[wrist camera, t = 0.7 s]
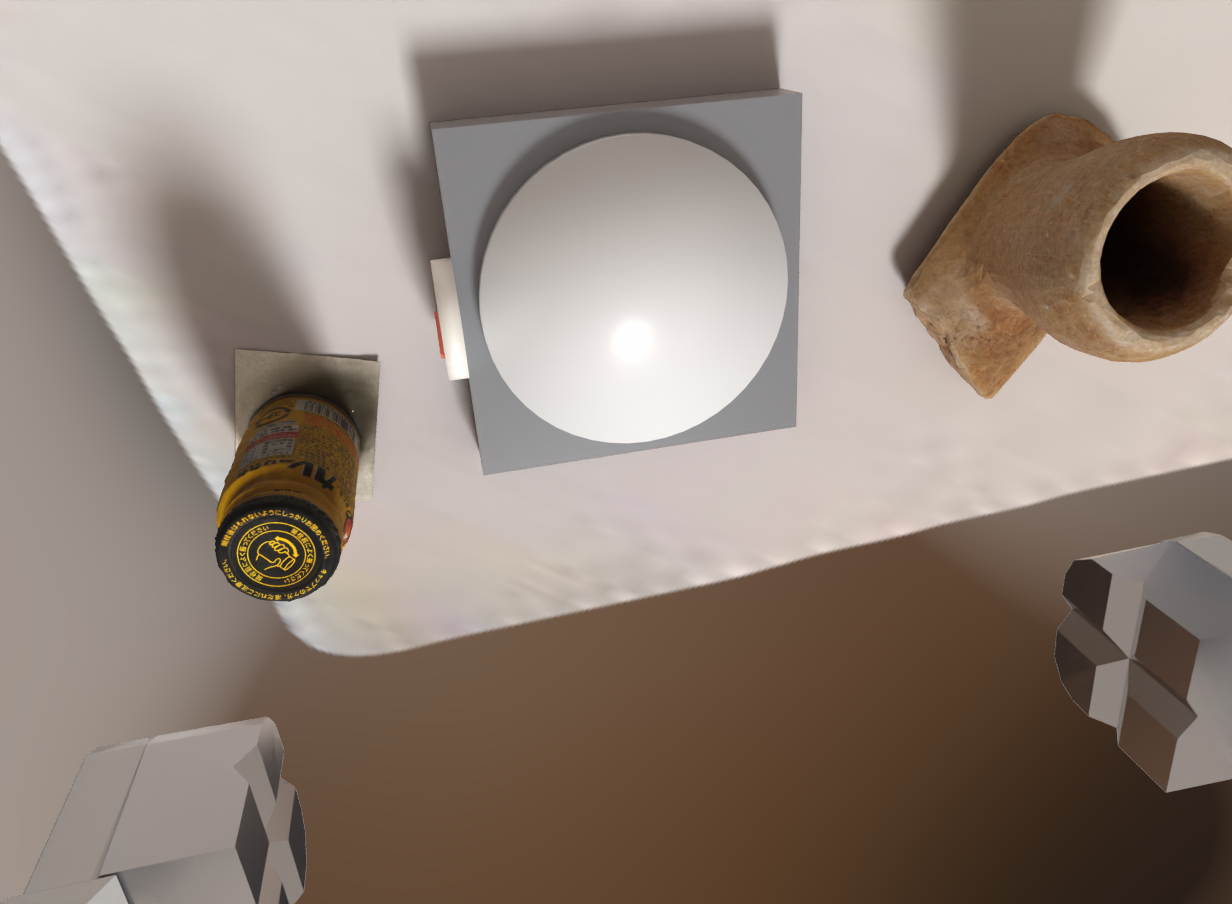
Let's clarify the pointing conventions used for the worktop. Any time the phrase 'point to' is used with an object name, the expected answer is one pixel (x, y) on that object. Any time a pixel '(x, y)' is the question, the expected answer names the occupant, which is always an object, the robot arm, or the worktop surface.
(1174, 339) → the stone cup
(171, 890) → the robot arm
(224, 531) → the condiment
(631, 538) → the worktop surface
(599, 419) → the scale
